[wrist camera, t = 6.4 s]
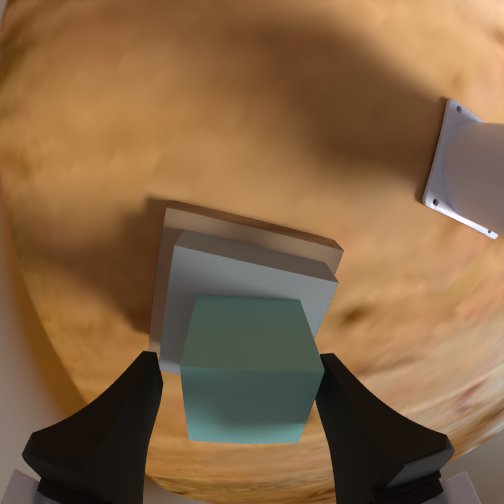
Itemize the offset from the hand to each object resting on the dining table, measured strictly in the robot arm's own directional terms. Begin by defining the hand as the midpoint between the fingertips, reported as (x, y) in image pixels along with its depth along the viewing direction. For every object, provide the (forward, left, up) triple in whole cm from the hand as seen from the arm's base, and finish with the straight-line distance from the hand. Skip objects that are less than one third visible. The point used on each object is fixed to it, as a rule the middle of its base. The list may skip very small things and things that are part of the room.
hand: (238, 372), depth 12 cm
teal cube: (0, 0, -3) cm, 3 cm away
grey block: (0, 0, -5) cm, 5 cm away
